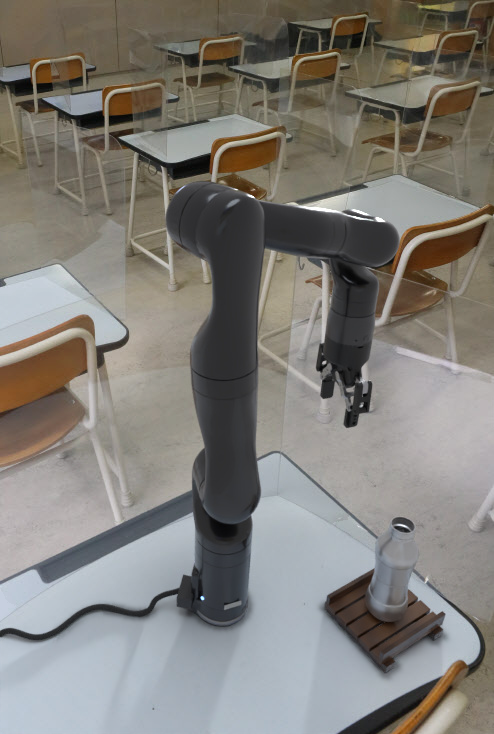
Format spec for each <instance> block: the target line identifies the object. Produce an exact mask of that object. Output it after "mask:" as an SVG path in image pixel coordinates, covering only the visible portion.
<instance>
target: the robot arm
mask: <svg viewBox="0 0 494 734" xmlns="http://www.w3.org/2000/svg"><path fill="white" fill-rule="evenodd" d="M165 228H166V231H167V234H168V237H169V238H170V240H171V241H172V242H173V243H174V244H175V245H176V246H177V247H178V248H180V249H181V250H182V251H184V252H186V253H188V254H189V255H192V256H194V257H196V258H198V259H201V260H202V261H204V262H207V264H208V266H209V270H210V271H209V272H210V276H211V305H210V310H209V311H208V314H207V316H206V317H205V319H204V320H203V322H202V323H201V325H200V326H199V328H198V329H197V331H196V333H195V335H194V336H193V339H192V340H191V344H190V348H189V371H190V386H191V392H192V393H191V394H192V400H193V405H194V409H195V414H196V418H197V422H198V426H199V430H200V434H201V438H202V441H203V446H204V447H203V448H202V449H201V450H200V451H199V452H198V453H197V455H196V456H195V458H194V460H193V463H192V469H191V506H192V507H191V508H192V516H193V522H194V562H193V567H192V569H191V574H190V575H187V574H182V577H181V581H180V585H179V587H177V588H173V589H169V590H166V591H163V592H161V593H159V594H157V595H156V596H154V597H152V599H151V601H150V602H149V605H148V607H147V608H144V609H140V610H133V609H127V608H123V607H120V606H117V605H114V604H109V603H108V604H107V603H95V604H91V605H88V606H85V607H83V608H81V609H80V610H78V611H76V612H75V613H73V614H72V615H70V617H68V618H67V619H66V620H65V621H63V622H62V623H61V624H59V625H58V626H56V627H55V628H53V629H51V630H49V631H46V632H43V633H30V632H27V631H24V630H21V629H18V628H16V627H15V628H14V627H5V628H2V629H1V630H0V638H1V637H3V636H6V635H14V636H17V637H19V638H22V639H25V640H28V641H38V642H39V641H43V640H48V639H49V638H53V637H55V636H56V635H58V634H60V633H61V632H63V631H64V630H66V629H67V628H68V627H69V626H70V625H72V624H73V623H74V622H76V620H78V619H79V618H81V617H82V616H84V615H86V614H88V613H91V612H94V611H110V612H113V613H117V614H120V615H124V616H129V617H143V616H146V615H149V614H151V613H152V612H153V611H154V609H155V607H156V605H157V603H158V602H160V601H161V600H163V599H166V598H168V597H173V596H176V607H177V608H180V609H185V610H190V612H191V613H195V614H197V615H198V616H199V617H200V619H202V620H203V621H205V622H206V623H208V624H210V625H213V626H219V627H226V626H231V625H235V624H237V623H238V622H239V621H241V620H242V619H243V618H244V617H245V615H246V613H247V610H248V606H249V586H250V585H249V584H250V571H251V557H252V556H251V555H252V542H253V528H254V524H253V514H254V513H255V511H256V510H257V508H258V506H259V504H260V501H261V498H262V484H261V479H260V471H259V464H258V457H257V455H258V454H257V430H258V429H257V428H258V399H259V395H258V394H259V366H260V365H259V340H258V339H259V314H260V313H259V311H260V295H261V294H260V293H261V283H262V276H263V275H262V274H263V267H264V258H265V250H269V251H272V252H276V253H281V254H286V255H289V256H290V255H291V256H294V257H299V258H304V259H305V258H306V259H321V260H328V261H329V266H330V267H329V269H330V274H331V278H332V289H331V297H330V305H329V310H328V313H327V317H326V325H325V330H324V331H325V332H324V339H323V340H324V341H323V342H322V343H321V342H320V343H319V344H318V351H317V357H316V363H315V370H316V372H317V373H320V374H319V378H320V380H321V383H320V384H321V386H320V393H319V394H320V395H319V396H320V398H321V399H322V400H326V399H332V398H333V397H334V391H335V384H337V386H338V387H339V392H340V396H341V398H342V399H344V403H345V410H344V417H343V423H342V425H343V426H344V427H345V428H346V429H349V428H355V427H356V426H358V424H359V417H360V415H362V414H367V413H369V412H370V408H371V399H372V392H373V381H372V380H371V379H369V380H365V379H364V378H363V373H362V368H363V367H364V366H365V365H366V364H367V363H368V361H369V360H370V357H371V350H372V345H373V340H374V339H373V338H374V333H375V328H376V310H377V304H378V297H379V292H380V281H379V278H378V276H377V275H375V274H374V273H373V271H371V270H370V269H368V268H377V267H380V266H381V267H382V266H383V265H386V264H387V263H389V262H390V261H391V260H392V259H394V257H395V256H396V254H397V253H398V250H399V248H400V243H401V242H400V241H401V239H400V234H399V231H398V229H397V228H396V227H395V225H394V224H393V223H391V222H390V221H388V220H386V219H383V218H380V217H377V216H373V215H371V214H368V213H365V212H363V211H360V210H357V209H352V208H350V209H349V208H347V209H345V210H342V211H338V210H335V209H330V208H324V207H317V206H308V205H298V204H292V203H291V204H290V203H282V202H281V203H280V202H274V201H267V200H262V199H257V198H256V197H254V196H253V195H252V194H250V193H247V192H245V191H242V190H240V189H237V188H234V187H231V186H228V185H225V184H222V183H219V182H215V181H212V180H197V181H196V180H195V181H192V182H189V183H186V184H185V185H183V186H182V187H180V188H179V189H178V190H177V191H176V192H175V193H174V194H173V196H172V197H171V199H170V201H169V203H168V205H167V207H166V212H165ZM324 362H325V363H324ZM347 389H352V390H353V391H347ZM351 397H353V399H352V400H351Z"/></svg>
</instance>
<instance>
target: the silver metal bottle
mask: <svg viewBox="0 0 494 734" xmlns="http://www.w3.org/2000/svg"><path fill="white" fill-rule="evenodd" d="M415 536H416V524H415V522H414V521H413V520H412V519H411V518H408V517H406V516H402V515H398V516H393V518H391V519H390V521H389V525H388V527H387V530H386V531H383V532H382V533H381V534H379V536H378V537H377V538H376V541H375V543H374V544H375V545H374V568H375V569H374V568H373V569H374V574H373V577H372V580H371V583H370V585H369V586H368V589H367V591H366V595H365V600H366V606H367V609H368V610H369V612H370V613H371V614H372V615H373V616H374V617H375V618H377V619H379V620H381V621H384V622H394V621H397V620H399V619H401V618H402V617H403V616H404V614H405V612H406V610H407V608H408V595H407V594H408V589H409V583H410V580H411V577H412V575H413V574H412V573H413V571H414V569H415V567H416V565H417V563H418V561H419V557H420V549H419V544H418V543H417V541H416V540H415Z"/></svg>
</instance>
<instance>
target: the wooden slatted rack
mask: <svg viewBox="0 0 494 734" xmlns="http://www.w3.org/2000/svg"><path fill="white" fill-rule="evenodd" d="M374 569H375V567H374V568H371V569H370V570H369V571H366V572H365V573H363V574H362V575H360V576H358V577H356V578H354V579H353V580H351V581H349V582H348V583H345V584H344V585H343V586H341V587H338V588H337V589H335V590H333V591H332V592H330V593H328V594H327V595H326V599H325V601H324V606H323V608H324V609H325V610H326V611H327V613H328V614H330V616H331V617H332V618H333V619H334V620H335V621H336V622H337V623H338V624H339V625H340V627H342V629H343V630H344V631H345V632H347V635H349V636H350V637H351V638H352V639H353V640H354V642H355V643H356V644H357V645H358V646H359V647H360V648H361V649H362V650H363V651H364V652H365V653H366V654H367V656H368V657H369V658H370V659H371V660H372V661H373V662H374V663H375V664H376V665H377V666H378V667H379V669H381V670H382V671H383V673H385V674H386V673H387V672H389V671H391V670H392V669H393V668H395V665H396V660H395V659H394V657H395V656H397V655H398V654H400V653H402V652H403V651H405V650H406V649H408V648H410V647H411V646H412V645H414V644H416V643H417V642H419V641H420V640H421V639H423V638H424V637H426V636H428V637H429V638H430V639H431V640H432V641H435V640H438V638H440V637H442V635H443V632H444V628H442V626H443V624H444V621H445V618H446V613H445V611H443V610H442V611H440V612H438V613H437V614H436V613H435V612H434V611H433V610H432V611H431V608H430V607H429V606H428V605H427V604H426V603H425V602H423V600H421V599H419V597H418V596H417V595H416V594H415V593H414V592H413V591H412V590H410V589H409V588H408V594H407V595H408V608H407V610H406V612H405V614H404V616H403V617H402V618H401V619H399V620H397V621H394V622H384V621H381V620H379V619H377V618H375V617H374V616H373V615H372V614H371V613H370V612H369V610H368V609H367V606H366V600H365V595H366V591H367V589H368V586H369V585H370V583H371V580H372V577H373V574H374Z"/></svg>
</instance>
